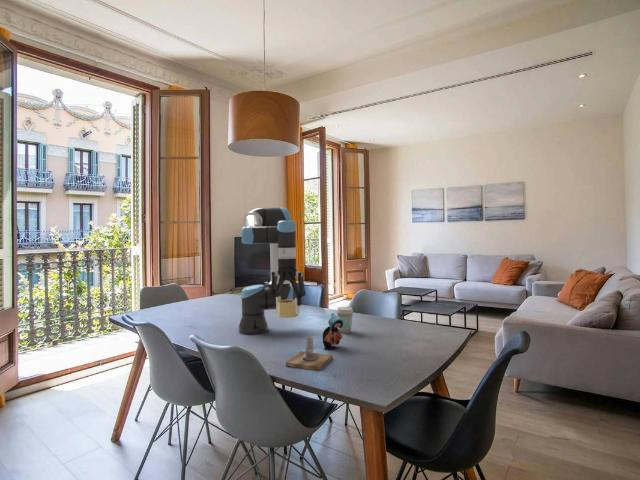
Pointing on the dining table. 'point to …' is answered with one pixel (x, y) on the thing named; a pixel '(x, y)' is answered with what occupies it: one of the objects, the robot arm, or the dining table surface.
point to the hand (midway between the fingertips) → (287, 312)
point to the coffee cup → (345, 318)
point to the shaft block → (309, 358)
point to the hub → (286, 308)
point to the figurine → (332, 333)
